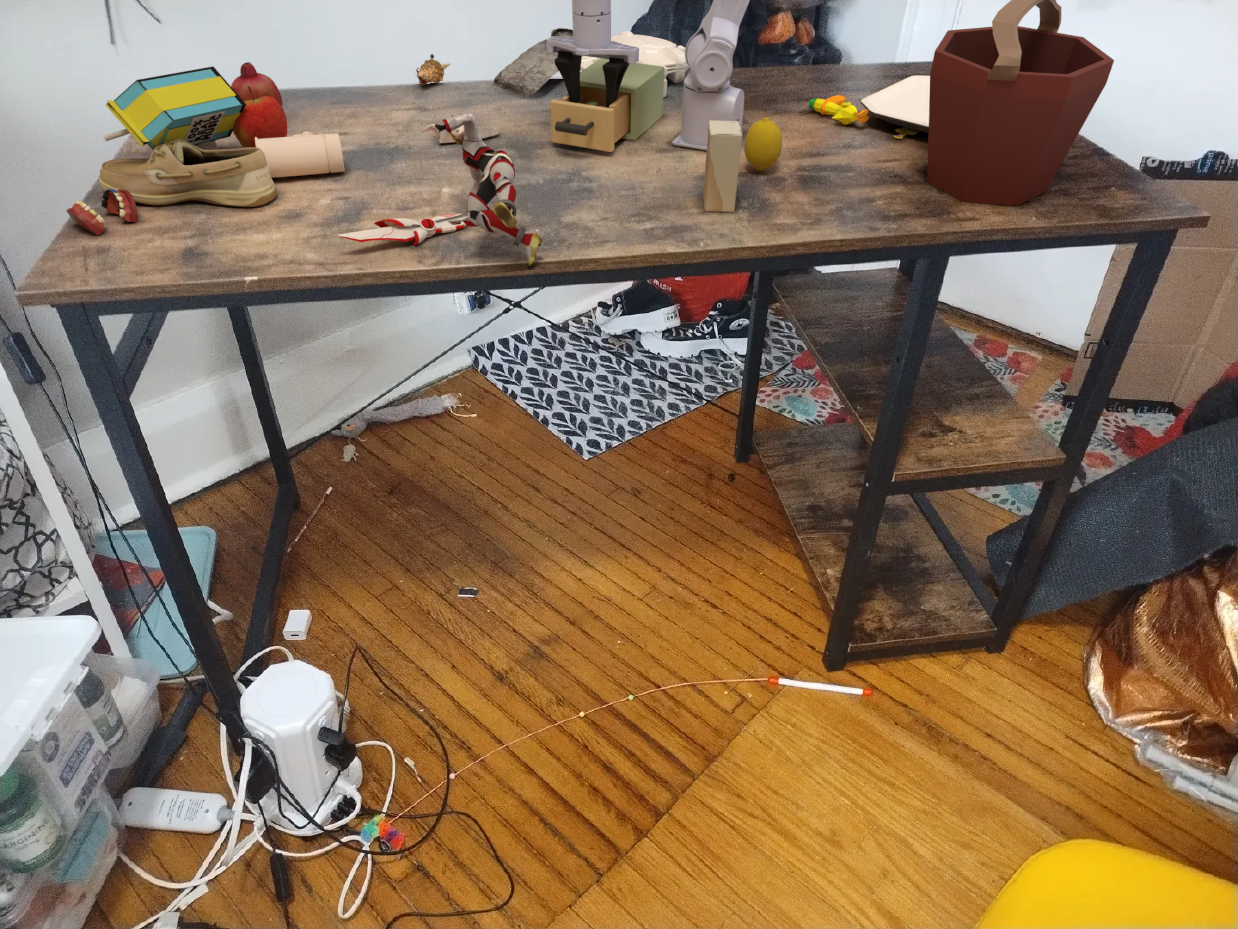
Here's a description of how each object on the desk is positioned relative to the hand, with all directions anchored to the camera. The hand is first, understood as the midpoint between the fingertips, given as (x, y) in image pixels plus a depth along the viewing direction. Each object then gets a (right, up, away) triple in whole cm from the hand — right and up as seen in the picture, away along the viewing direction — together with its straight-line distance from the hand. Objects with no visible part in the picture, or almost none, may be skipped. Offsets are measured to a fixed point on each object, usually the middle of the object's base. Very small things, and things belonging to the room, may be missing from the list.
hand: (593, 105), depth 140 cm
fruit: (-55, 0, +8) cm, 56 cm away
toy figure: (+45, +1, +7) cm, 45 cm away
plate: (+63, +2, +12) cm, 64 cm away
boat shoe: (-57, -18, -13) cm, 61 cm away
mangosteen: (0, -3, +2) cm, 4 cm away
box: (+18, -20, -14) cm, 30 cm away
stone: (-5, +18, +28) cm, 33 cm away
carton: (-55, -2, -7) cm, 56 cm away
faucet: (-50, -10, -8) cm, 51 cm away
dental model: (-68, -24, -23) cm, 76 cm away
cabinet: (+4, +1, +11) cm, 11 cm away
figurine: (-33, +18, +21) cm, 43 cm away
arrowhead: (-25, -3, +4) cm, 26 cm away
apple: (-51, -8, -1) cm, 52 cm away
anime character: (-12, -35, -34) cm, 51 cm away
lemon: (+26, -12, -5) cm, 29 cm away
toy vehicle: (+6, +22, +24) cm, 33 cm away
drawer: (0, -4, +3) cm, 5 cm away
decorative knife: (+52, +1, +10) cm, 53 cm away
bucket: (+58, -14, -7) cm, 60 cm away
